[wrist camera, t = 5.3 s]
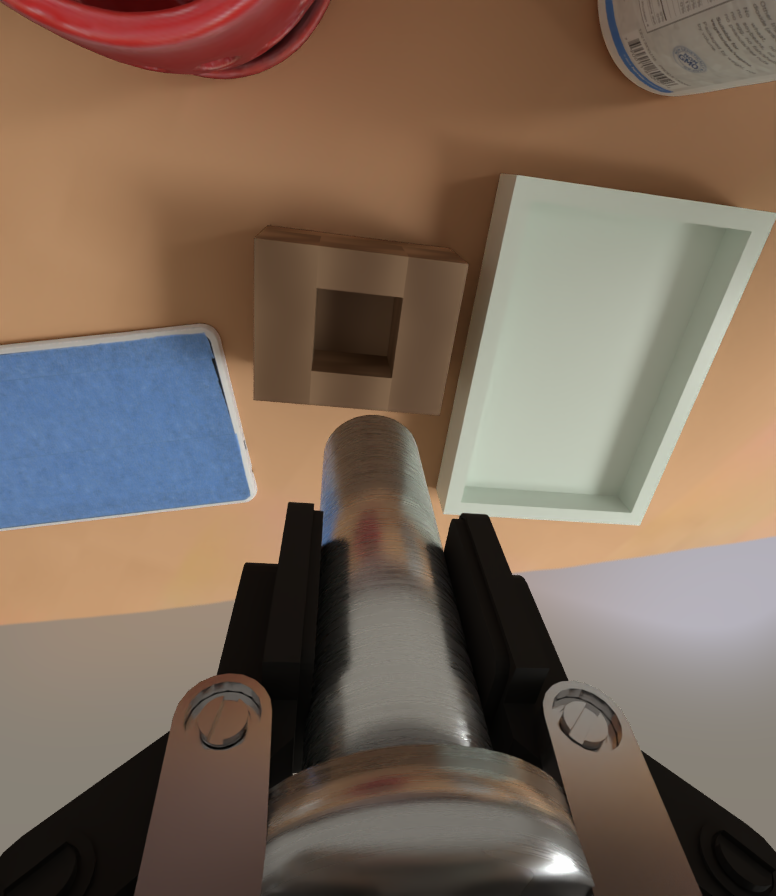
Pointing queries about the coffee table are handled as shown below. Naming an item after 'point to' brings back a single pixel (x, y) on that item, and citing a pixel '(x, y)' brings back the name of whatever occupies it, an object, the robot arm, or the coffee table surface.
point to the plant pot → (182, 31)
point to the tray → (589, 347)
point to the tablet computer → (118, 427)
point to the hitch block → (353, 320)
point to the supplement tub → (691, 43)
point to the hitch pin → (403, 715)
